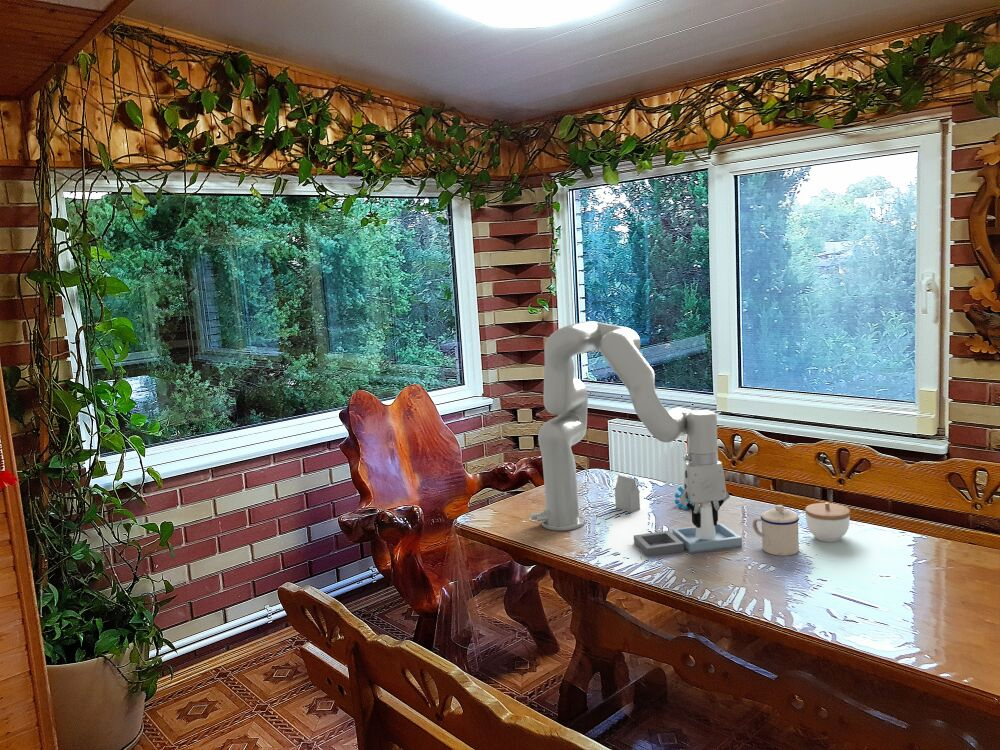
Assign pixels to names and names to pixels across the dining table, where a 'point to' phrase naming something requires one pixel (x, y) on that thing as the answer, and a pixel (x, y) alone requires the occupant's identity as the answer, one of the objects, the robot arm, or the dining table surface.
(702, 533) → the pepper shaker
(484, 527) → the dining table surface
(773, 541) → the teacup with lid
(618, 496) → the grey upright wedge block
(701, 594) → the dining table surface
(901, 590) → the dining table surface
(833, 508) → the lidded jar
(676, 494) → the blue spiky cluster
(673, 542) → the socket block
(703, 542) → the parts tray
